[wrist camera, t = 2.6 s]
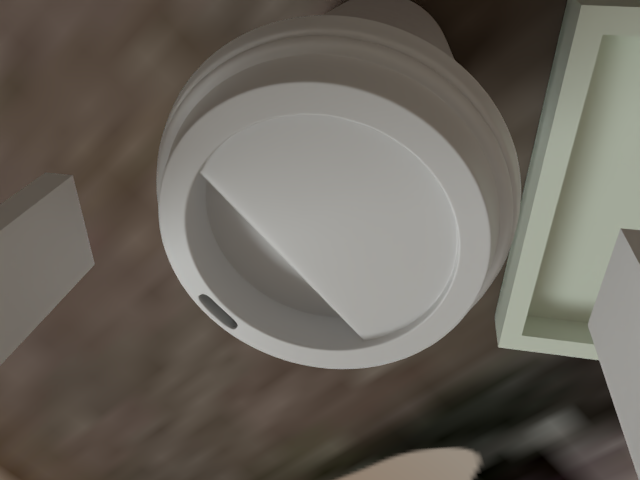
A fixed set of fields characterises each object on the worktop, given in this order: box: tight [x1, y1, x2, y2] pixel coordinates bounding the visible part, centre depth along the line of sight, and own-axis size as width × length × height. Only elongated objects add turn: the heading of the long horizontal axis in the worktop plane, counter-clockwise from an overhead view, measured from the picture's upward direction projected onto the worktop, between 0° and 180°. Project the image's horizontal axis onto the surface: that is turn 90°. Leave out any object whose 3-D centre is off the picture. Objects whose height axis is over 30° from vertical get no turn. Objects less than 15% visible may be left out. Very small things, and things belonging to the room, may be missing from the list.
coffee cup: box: [156, 0, 521, 369], centre depth 19 cm, size 10×10×15 cm
